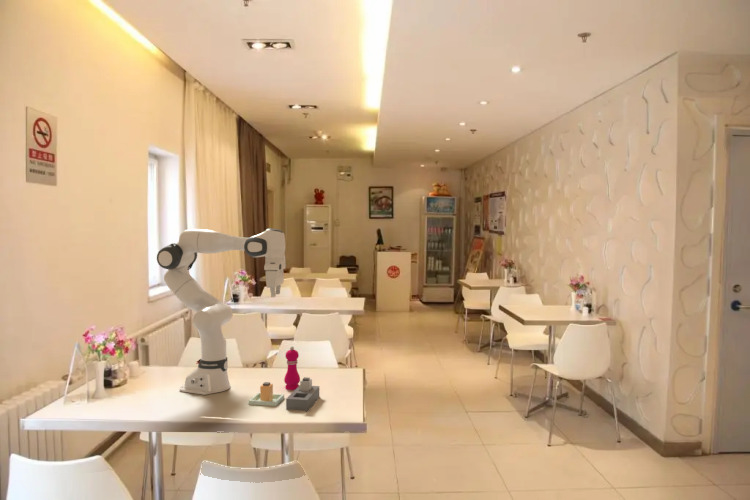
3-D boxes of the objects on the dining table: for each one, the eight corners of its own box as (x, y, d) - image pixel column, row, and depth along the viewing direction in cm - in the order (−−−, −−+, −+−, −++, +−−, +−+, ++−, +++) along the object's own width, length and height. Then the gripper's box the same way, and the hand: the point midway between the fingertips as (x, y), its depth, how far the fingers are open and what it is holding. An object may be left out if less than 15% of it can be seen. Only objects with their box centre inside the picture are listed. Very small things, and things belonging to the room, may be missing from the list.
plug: (260, 402, 212) (260, 384, 211) (264, 399, 216) (263, 381, 215) (269, 403, 211) (269, 384, 211) (272, 399, 215) (272, 381, 215)
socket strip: (286, 410, 204) (286, 398, 204) (299, 396, 221) (299, 385, 221) (307, 412, 202) (307, 400, 202) (319, 397, 220) (319, 386, 220)
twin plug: (300, 397, 214) (300, 379, 214) (303, 394, 218) (303, 376, 218) (309, 397, 213) (309, 379, 213) (311, 394, 217) (311, 377, 217)
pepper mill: (296, 392, 227) (296, 348, 226) (281, 391, 229) (281, 347, 228) (302, 387, 234) (302, 345, 233) (287, 386, 236) (287, 344, 235)
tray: (248, 405, 209) (248, 400, 209) (257, 397, 219) (257, 392, 219) (275, 407, 208) (275, 402, 207) (284, 399, 217) (284, 394, 217)
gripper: (273, 263, 234) (273, 292, 234) (263, 266, 213) (263, 298, 214) (286, 263, 233) (287, 292, 234) (277, 266, 213) (278, 298, 214)
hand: (275, 295), depth 224 cm, fingers open, 8 cm apart
